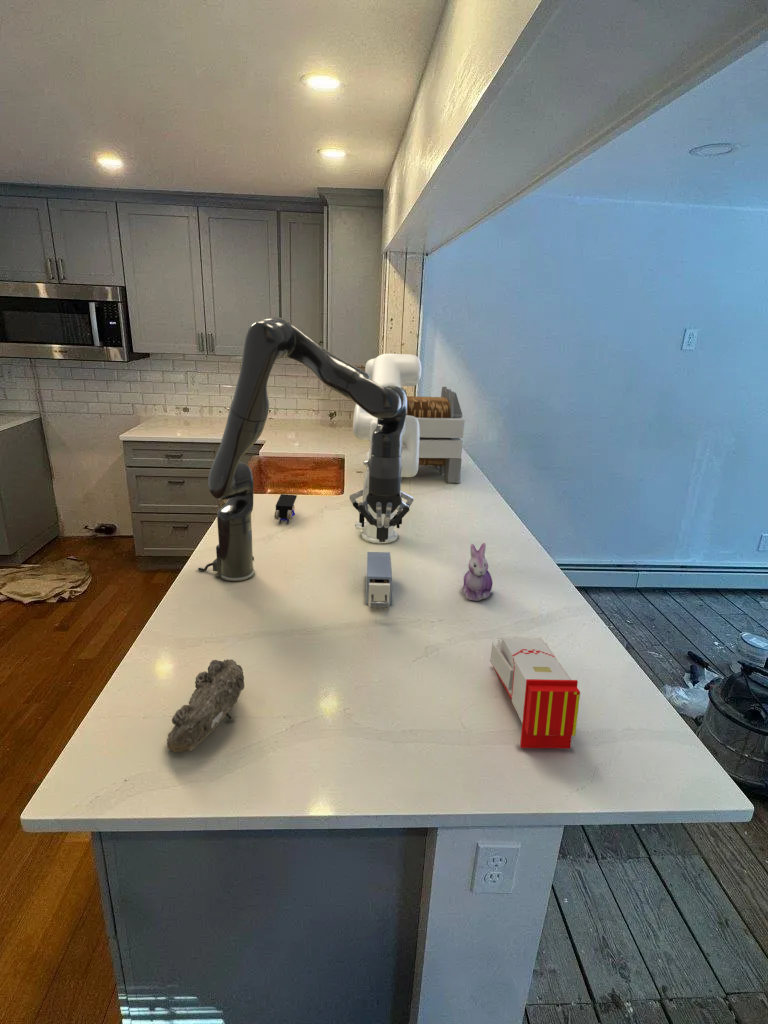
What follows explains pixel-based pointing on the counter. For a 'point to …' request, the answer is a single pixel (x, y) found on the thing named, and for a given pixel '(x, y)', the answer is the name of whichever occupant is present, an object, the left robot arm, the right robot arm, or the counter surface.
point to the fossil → (206, 705)
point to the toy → (537, 691)
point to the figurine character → (285, 507)
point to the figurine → (477, 576)
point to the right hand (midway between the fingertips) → (380, 525)
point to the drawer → (379, 593)
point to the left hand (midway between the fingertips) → (382, 540)
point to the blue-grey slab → (378, 569)
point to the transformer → (439, 432)
